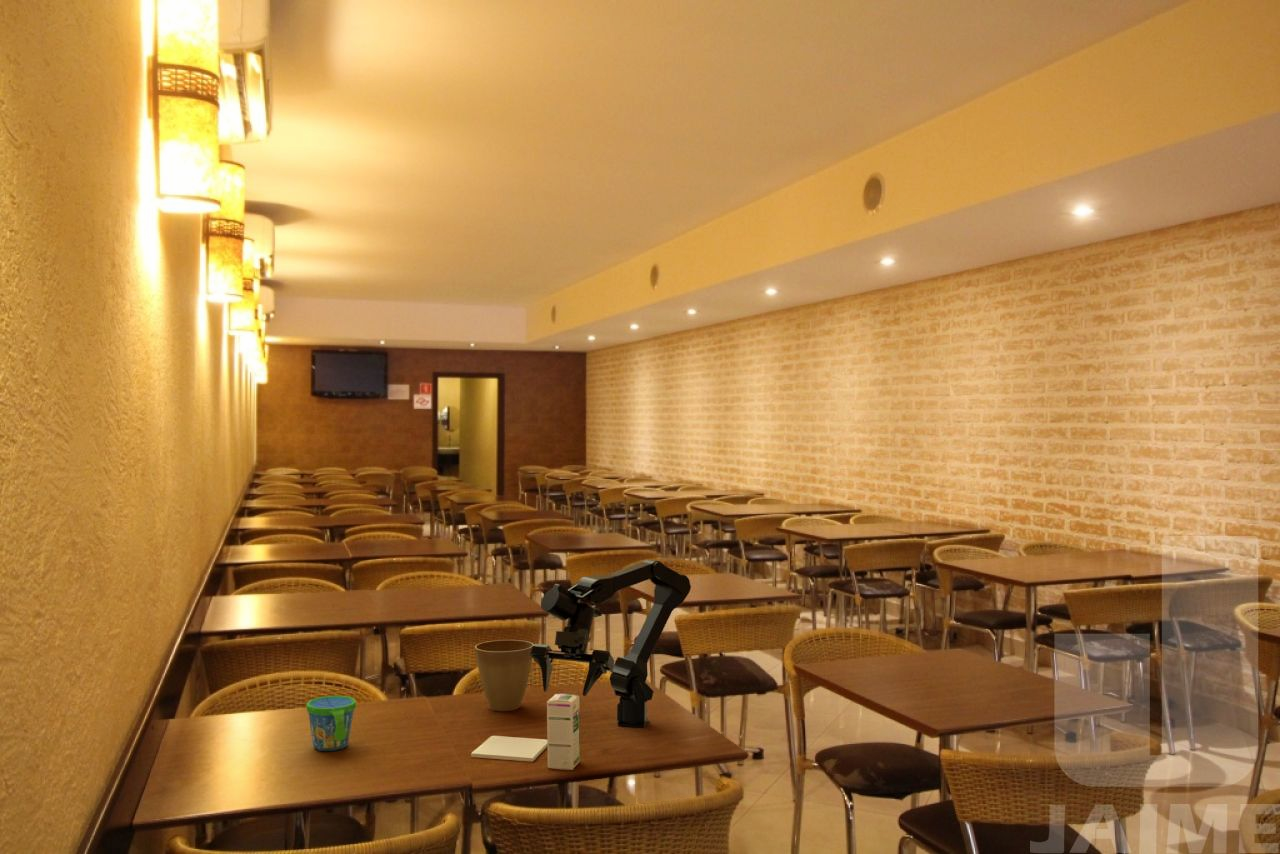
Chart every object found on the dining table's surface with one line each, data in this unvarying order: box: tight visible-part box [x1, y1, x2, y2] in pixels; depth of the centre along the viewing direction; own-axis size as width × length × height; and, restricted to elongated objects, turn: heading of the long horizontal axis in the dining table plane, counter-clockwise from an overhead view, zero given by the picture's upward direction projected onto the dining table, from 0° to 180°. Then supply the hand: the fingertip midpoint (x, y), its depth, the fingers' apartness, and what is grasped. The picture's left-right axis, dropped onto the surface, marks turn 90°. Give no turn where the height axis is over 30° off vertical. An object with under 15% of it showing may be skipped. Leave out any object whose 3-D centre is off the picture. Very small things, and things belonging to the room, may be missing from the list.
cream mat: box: [470, 735, 547, 763], centre depth 229 cm, size 14×13×1 cm
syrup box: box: [546, 693, 581, 771], centre depth 220 cm, size 6×6×14 cm
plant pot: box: [474, 639, 535, 712], centre depth 263 cm, size 15×15×16 cm
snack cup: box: [305, 695, 357, 752], centre depth 231 cm, size 16×10×10 cm
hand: (564, 693), depth 230 cm, fingers open, 9 cm apart
